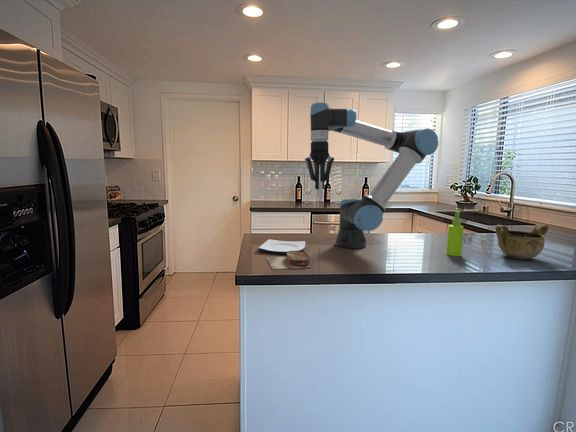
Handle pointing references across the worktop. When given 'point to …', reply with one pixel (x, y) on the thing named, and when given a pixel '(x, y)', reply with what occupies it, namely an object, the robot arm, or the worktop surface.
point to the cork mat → (282, 263)
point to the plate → (281, 246)
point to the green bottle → (455, 236)
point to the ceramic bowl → (521, 241)
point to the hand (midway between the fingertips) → (319, 196)
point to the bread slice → (298, 258)
